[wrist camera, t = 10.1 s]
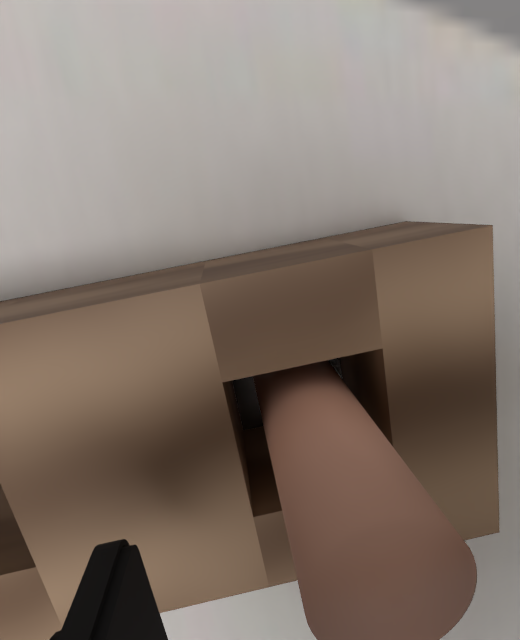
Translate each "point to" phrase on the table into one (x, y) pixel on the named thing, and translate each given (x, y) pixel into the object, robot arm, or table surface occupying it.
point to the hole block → (231, 407)
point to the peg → (358, 517)
